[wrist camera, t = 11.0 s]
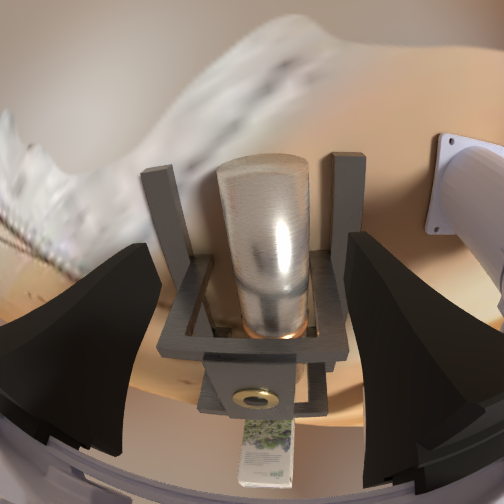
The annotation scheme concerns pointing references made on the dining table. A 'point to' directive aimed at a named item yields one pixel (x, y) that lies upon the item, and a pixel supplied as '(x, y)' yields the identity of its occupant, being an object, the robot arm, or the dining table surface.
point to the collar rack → (257, 350)
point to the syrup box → (267, 454)
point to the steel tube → (269, 242)
